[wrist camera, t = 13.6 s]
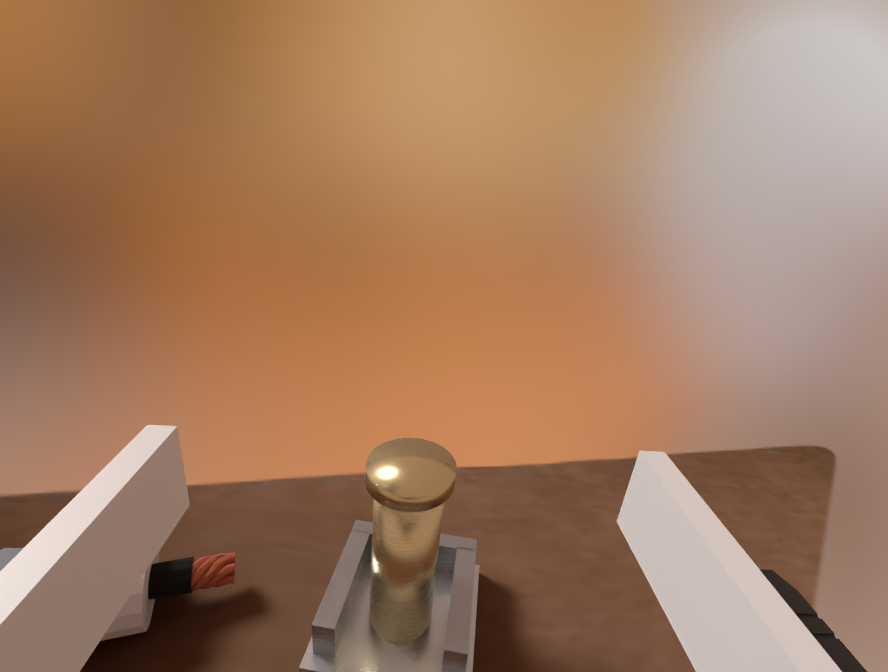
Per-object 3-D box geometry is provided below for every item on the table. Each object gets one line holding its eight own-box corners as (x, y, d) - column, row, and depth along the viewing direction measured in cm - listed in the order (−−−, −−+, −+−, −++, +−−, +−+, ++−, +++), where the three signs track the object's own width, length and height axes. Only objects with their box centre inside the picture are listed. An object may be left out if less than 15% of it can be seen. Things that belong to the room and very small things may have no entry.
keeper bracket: (299, 675, 28) (297, 639, 27) (350, 550, 38) (350, 518, 36) (469, 709, 27) (475, 673, 26) (478, 572, 37) (483, 540, 35)
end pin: (351, 642, 30) (353, 487, 25) (373, 572, 35) (379, 432, 30) (433, 658, 29) (451, 502, 25) (443, 584, 34) (460, 444, 30)
